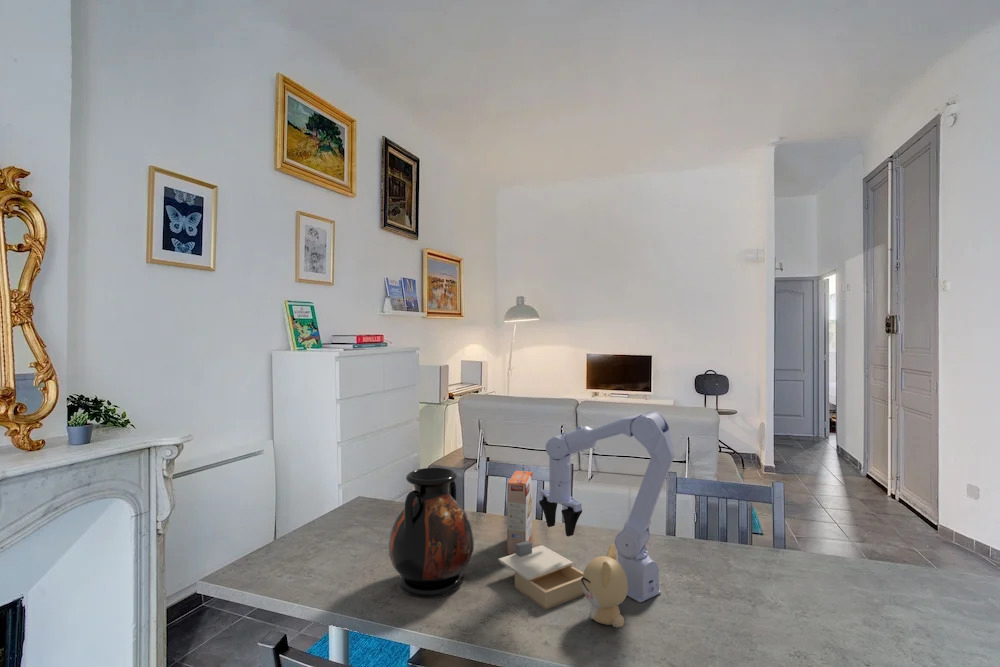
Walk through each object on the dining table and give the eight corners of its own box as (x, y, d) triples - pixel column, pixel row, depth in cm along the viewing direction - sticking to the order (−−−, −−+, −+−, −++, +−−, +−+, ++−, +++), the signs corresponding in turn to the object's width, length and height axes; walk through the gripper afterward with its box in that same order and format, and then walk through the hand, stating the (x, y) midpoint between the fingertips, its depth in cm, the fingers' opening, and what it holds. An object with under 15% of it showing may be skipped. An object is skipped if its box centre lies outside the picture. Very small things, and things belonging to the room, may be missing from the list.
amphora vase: (426, 557, 138) (426, 459, 139) (489, 576, 127) (489, 469, 127) (369, 591, 120) (370, 477, 120) (439, 616, 109) (438, 491, 109)
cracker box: (527, 557, 138) (526, 483, 138) (506, 555, 139) (506, 482, 140) (533, 537, 152) (533, 470, 152) (514, 536, 153) (514, 469, 153)
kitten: (589, 597, 116) (588, 535, 117) (632, 606, 113) (631, 541, 113) (575, 633, 102) (575, 561, 103) (623, 643, 99) (623, 569, 99)
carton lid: (573, 564, 124) (573, 552, 124) (528, 580, 116) (528, 567, 116) (541, 547, 135) (541, 535, 135) (498, 561, 126) (498, 548, 126)
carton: (589, 592, 119) (589, 575, 119) (545, 610, 111) (545, 592, 111) (557, 572, 129) (557, 557, 129) (514, 588, 121) (514, 572, 121)
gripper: (531, 476, 135) (531, 525, 135) (567, 489, 123) (567, 543, 123) (551, 472, 139) (551, 519, 139) (587, 484, 127) (587, 536, 127)
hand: (560, 530), depth 131 cm, fingers open, 7 cm apart
